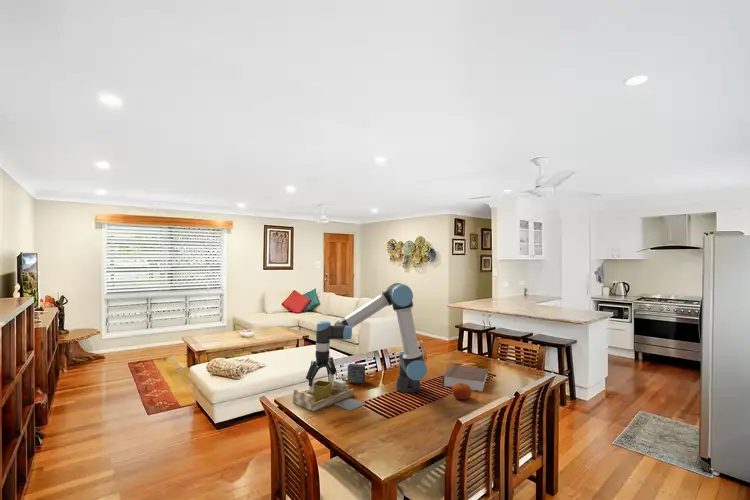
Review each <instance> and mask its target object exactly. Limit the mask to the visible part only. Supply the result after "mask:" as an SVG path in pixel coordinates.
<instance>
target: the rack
mask: <svg viewBox="0 0 750 500" xmlns="http://www.w3.org/2000/svg"><path fill="white" fill-rule="evenodd" d="M354 396H355V389H354V388H351V389H348V391H345V392H342V393H339V394H337V395H336V394H334V395H332V396H329V397H328V398H325V399H323V400H320V401H315V399H314V396H313V395H312V392H309V390H307V391H301V390H298V389H295V388H294V389H293V395H292V403H293V404H296V405H298V406H300V407H302V408H304V409H307V410H309V411H312V412H314V411H317V410H319V409H323V408H325V407H328V406H330V405H332V404H333V405H334V404H336V403H338V402H341V401H343V400H346V399H349V398H351V397H354Z"/></svg>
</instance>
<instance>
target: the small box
mask: <svg viewBox="0 0 750 500" xmlns="http://www.w3.org/2000/svg"><path fill="white" fill-rule="evenodd" d="M347 382H350V383H349V384H359V383H360V384H361V385H362V384H365V382H366V364H365V363H364V364H363V363H362V364H360V363H349V364H348V365H347V381H346V383H347Z"/></svg>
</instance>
